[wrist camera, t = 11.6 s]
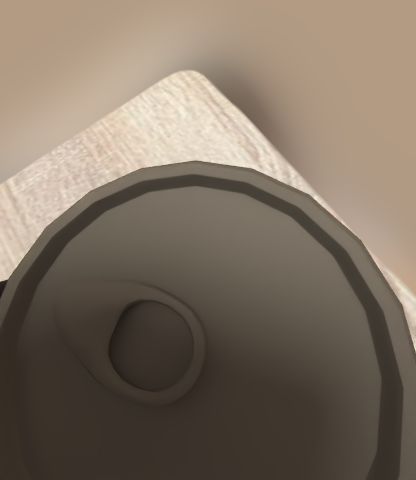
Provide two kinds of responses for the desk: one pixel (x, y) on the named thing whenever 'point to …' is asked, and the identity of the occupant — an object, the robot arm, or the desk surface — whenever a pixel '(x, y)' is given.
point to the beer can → (203, 339)
